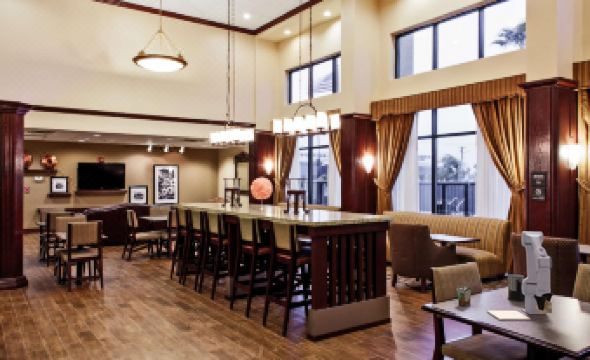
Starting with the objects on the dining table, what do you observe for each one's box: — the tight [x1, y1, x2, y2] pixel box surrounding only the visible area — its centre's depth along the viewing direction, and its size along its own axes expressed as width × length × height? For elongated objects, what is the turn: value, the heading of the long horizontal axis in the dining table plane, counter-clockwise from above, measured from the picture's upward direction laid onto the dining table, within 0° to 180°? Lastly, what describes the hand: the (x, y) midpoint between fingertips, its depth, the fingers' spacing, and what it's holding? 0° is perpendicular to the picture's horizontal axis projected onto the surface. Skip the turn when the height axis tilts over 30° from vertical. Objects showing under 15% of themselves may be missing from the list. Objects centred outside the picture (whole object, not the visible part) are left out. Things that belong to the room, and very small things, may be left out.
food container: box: [456, 285, 472, 308], centre depth 250 cm, size 12×6×10 cm, turn 141°
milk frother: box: [507, 273, 525, 303], centre depth 259 cm, size 14×16×15 cm
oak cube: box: [536, 300, 553, 314], centre depth 212 cm, size 5×5×5 cm
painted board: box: [486, 310, 532, 322], centre depth 227 cm, size 16×14×1 cm
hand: (543, 308), depth 212 cm, fingers closed on oak cube, 7 cm apart
